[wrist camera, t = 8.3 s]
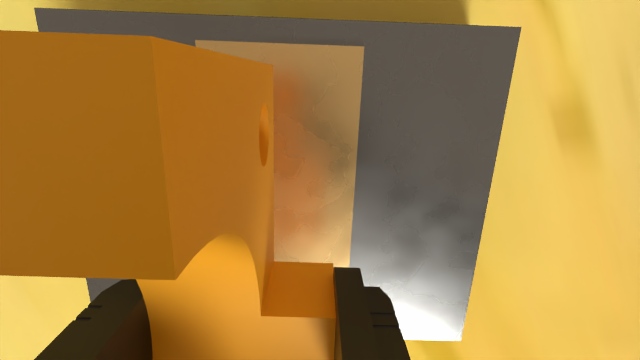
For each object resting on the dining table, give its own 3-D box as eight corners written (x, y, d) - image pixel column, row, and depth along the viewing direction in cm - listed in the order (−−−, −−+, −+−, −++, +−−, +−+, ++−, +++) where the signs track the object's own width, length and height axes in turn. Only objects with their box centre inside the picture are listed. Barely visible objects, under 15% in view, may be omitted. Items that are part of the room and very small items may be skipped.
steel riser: (469, 39, 19) (524, 26, 14) (431, 287, 24) (462, 343, 19) (107, 25, 19) (30, 6, 14) (141, 279, 23) (94, 334, 18)
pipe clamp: (324, 424, 12) (330, 793, 6) (201, 421, 12) (76, 789, 6) (343, 67, 9) (404, 44, 2) (169, 61, 8) (-231, 22, 2)
